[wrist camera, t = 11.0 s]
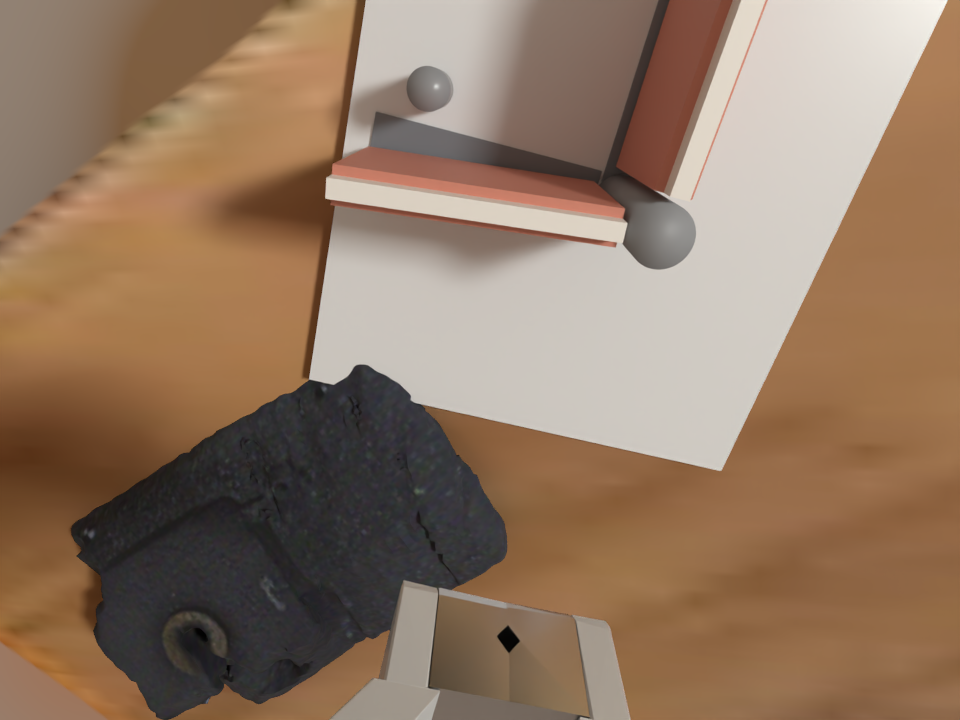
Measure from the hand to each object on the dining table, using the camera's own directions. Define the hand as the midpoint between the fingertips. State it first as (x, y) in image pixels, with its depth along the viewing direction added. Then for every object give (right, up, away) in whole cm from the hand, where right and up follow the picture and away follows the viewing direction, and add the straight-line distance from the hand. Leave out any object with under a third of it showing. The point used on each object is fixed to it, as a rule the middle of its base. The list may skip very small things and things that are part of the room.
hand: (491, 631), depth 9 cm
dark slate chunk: (-10, -6, +24) cm, 27 cm away
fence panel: (0, +11, +15) cm, 19 cm away
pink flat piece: (+6, +14, +14) cm, 21 cm away
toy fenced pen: (+4, +10, +16) cm, 20 cm away
